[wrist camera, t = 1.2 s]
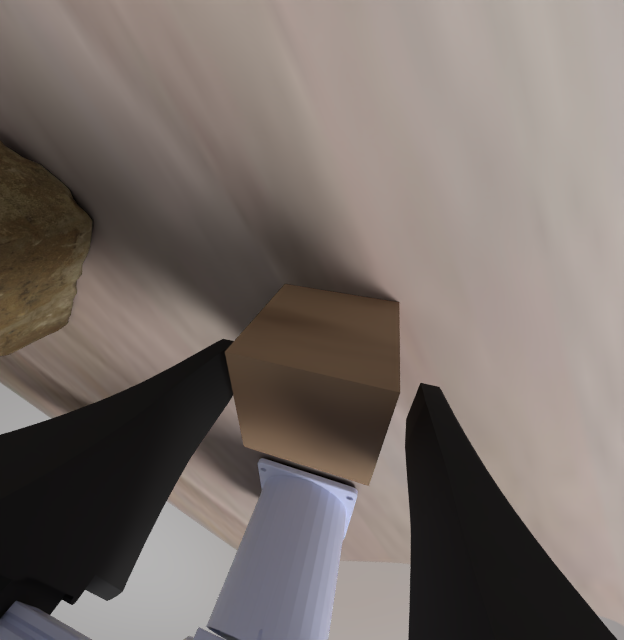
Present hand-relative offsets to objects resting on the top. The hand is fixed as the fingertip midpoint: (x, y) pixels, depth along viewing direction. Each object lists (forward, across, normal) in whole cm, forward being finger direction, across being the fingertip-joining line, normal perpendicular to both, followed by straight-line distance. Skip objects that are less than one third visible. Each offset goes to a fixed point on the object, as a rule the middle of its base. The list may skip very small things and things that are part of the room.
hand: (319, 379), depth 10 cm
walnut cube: (+3, 0, 0) cm, 3 cm away
